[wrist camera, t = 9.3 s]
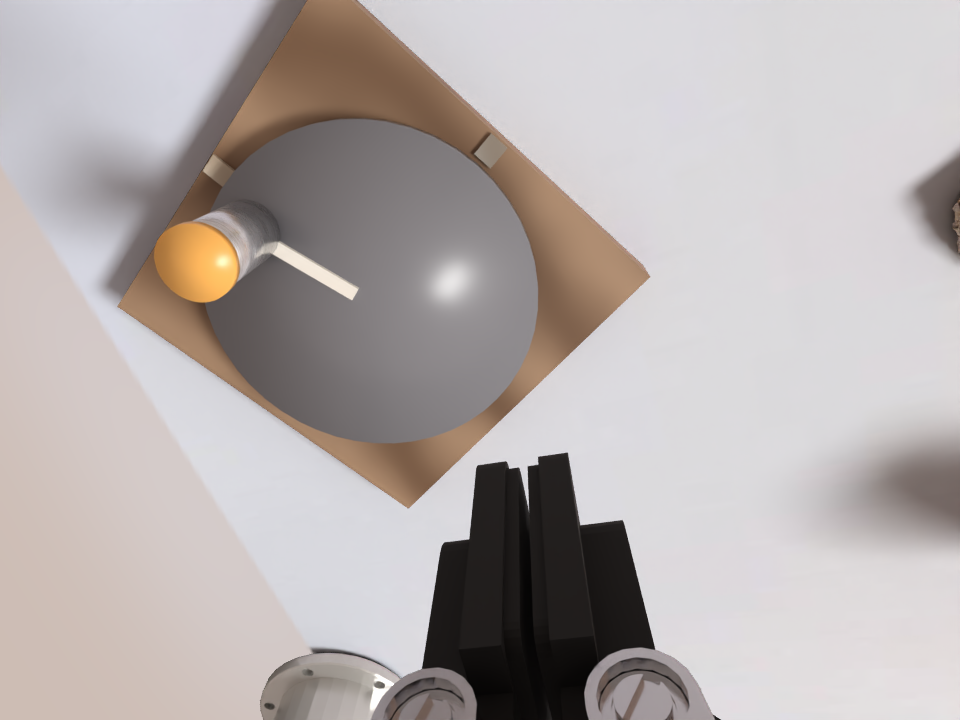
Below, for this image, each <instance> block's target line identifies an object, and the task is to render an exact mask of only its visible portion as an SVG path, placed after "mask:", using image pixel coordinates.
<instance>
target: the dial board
mask: <svg viewBox="0 0 960 720" xmlns="http://www.w3.org/2000/svg"><path fill="white" fill-rule="evenodd" d="M340 118H372V119H381V120H389V121H393V122H397V123H401V124H405V125H409V126H413V127H415V128H418V129H420V130H423V131H425V132H428V133H430V134H433V135H435V136H437V137H439V138H441V139H442V140H444V141H446V142H448V143H449V144H451V145H453V146H455V147H456V148H458V149H459V150H461V151H462V152H463V153H465V154H466V155H467V156H469V157H470V158H471V159H473V160H474V161H475V162H476V163H478V164H479V165H480V166H481V167H482V168H483V169H484V170H485V171H486V172H487V173H488V174H489V175H490V176H491V177H492V178H493V179H494V180H495V182H496V183H497V184H498V186H499V187H500V188H501V189H502V191H503V192H504V193H505V195H506V196H507V197H508V198H509V200H510V202H511V204H512V205H513V207H514V209H515V210H516V212H517V214H518V215H519V217H520V219H521V221H522V224H523V226H524V229H525V231H526V233H527V236H528V238H529V241H530V245H531V248H532V252H533V256H534V260H535V266H536V274H537V282H538V312H537V319H536V325H535V331H534V334H533V338H532V341H531V344H530V348H529V351H528V353H527V355H526V357H525V359H524V361H523V364H522V366H521V368H520V369H519V371H518V373H517V374H516V376H515V377H514V379H513V380H512V382H511V383H510V385H509V386H508V387H507V388H506V389H505V391H504V392H503V393H502V394H501V395H500V396H499V398H498V399H497V400H495V401H494V402H493V403H492V404H491V405H490V406H489V407H488V408H486V409H485V410H484V411H483V412H482V413H480V414H479V415H477V416H476V417H474V418H473V419H471V420H470V421H468V422H467V423H465V424H463V425H461V426H459V427H457V428H455V429H453V430H451V431H448V432H445V433H442V434H440V435H437V436H434V437H430V438H426V439H422V440H417V441H412V442H403V443H369V442H360V441H353V440H349V439H345V438H340V437H336V436H333V435H330V434H327V433H324V432H321V431H319V430H316V429H314V428H312V427H310V426H307V425H305V424H303V423H301V422H299V421H297V420H295V419H294V418H292V417H290V416H289V415H287V414H286V413H284V412H282V411H281V410H279V409H278V408H277V407H275V406H274V405H273V404H271V403H270V402H269V401H267V400H266V399H265V398H264V397H263V396H262V395H261V394H259V393H258V392H257V391H256V390H255V389H254V388H253V387H252V386H251V385H250V384H249V383H248V382H247V381H246V379H245V378H244V377H243V376H242V375H241V374H240V372H239V371H238V370H237V369H236V368H235V366H234V365H233V363H232V362H231V360H230V359H229V357H228V356H227V354H226V353H225V351H224V349H223V348H222V346H221V344H220V342H219V340H218V338H217V336H216V334H215V332H214V329H213V327H212V324H211V321H210V319H209V316H208V313H207V310H206V306H205V302H194V301H190V300H187V299H185V298H183V297H181V296H179V295H177V294H176V293H174V292H173V291H172V290H171V289H170V288H169V287H168V286H167V285H166V284H165V283H164V282H163V280H162V279H161V277H160V275H159V273H158V271H157V269H156V265H155V261H154V250H155V247H154V248H153V250H152V252H151V253H150V255H149V257H148V258H147V260H146V261H145V263H144V265H143V266H142V268H141V269H140V271H139V273H138V274H137V276H136V278H135V279H134V281H133V282H132V284H131V286H130V287H129V289H128V290H127V292H126V294H125V295H124V297H123V298H122V300H121V302H120V303H119V305H118V307H119V308H120V309H122V310H123V311H125V312H126V313H128V314H129V315H130V316H132V317H133V318H135V319H136V320H138V321H139V322H141V323H142V324H143V325H145V326H146V327H148V328H149V329H151V330H152V331H153V332H155V333H156V334H158V335H159V336H161V337H162V338H164V339H165V340H166V341H168V342H169V343H171V344H172V345H174V346H175V347H177V348H178V349H179V350H181V351H182V352H184V353H185V354H187V355H188V356H189V357H191V358H192V359H194V360H195V361H197V362H198V363H200V364H201V365H202V366H204V367H205V368H207V369H208V370H210V371H211V372H213V373H214V374H215V375H217V376H218V377H220V378H221V379H223V380H224V381H225V382H227V383H228V384H230V385H231V386H233V387H234V388H236V389H237V390H238V391H240V392H241V393H243V394H244V395H246V396H247V397H249V398H250V399H251V400H253V401H254V402H256V403H257V404H259V405H260V406H261V407H263V408H264V409H266V410H267V411H269V412H270V413H272V414H273V415H274V416H276V417H277V418H279V419H280V420H282V421H283V422H284V423H286V424H287V425H289V426H290V427H292V428H293V429H295V430H296V431H297V432H299V433H300V434H302V435H303V436H305V437H306V438H308V439H309V440H310V441H312V442H313V443H315V444H316V445H318V446H319V447H320V448H322V449H323V450H325V451H326V452H328V453H329V454H331V455H332V456H333V457H335V458H336V459H338V460H339V461H341V462H342V463H344V464H345V465H346V466H348V467H349V468H351V469H352V470H354V471H355V472H356V473H358V474H359V475H361V476H362V477H364V478H365V479H367V480H368V481H369V482H371V483H372V484H374V485H375V486H377V487H378V488H380V489H381V490H382V491H384V492H385V493H387V494H388V495H390V496H391V497H392V498H394V499H395V500H397V501H398V502H400V503H401V504H403V505H404V506H405V507H407V508H409V507H411V506H412V505H413V504H414V503H415V502H416V501H417V500H418V499H419V498H420V497H421V496H422V495H423V494H424V493H425V492H426V491H427V490H428V489H429V488H430V487H431V486H432V485H433V484H435V483H436V482H437V481H438V480H439V479H440V478H441V477H442V476H443V475H444V474H445V473H446V472H447V471H448V470H449V469H450V468H451V467H452V466H453V465H454V464H455V463H456V462H457V461H459V460H460V459H461V458H462V457H463V456H464V455H465V454H466V453H467V452H468V451H469V450H470V449H471V448H472V447H473V446H474V445H475V444H476V443H477V442H478V441H479V440H480V439H482V438H483V437H484V436H485V435H486V434H487V433H488V432H489V431H490V430H491V429H492V428H493V427H494V426H495V425H496V424H497V423H498V422H499V421H500V420H501V419H502V418H503V417H504V416H506V415H507V414H508V413H509V412H510V411H511V410H512V409H513V408H514V407H515V406H516V405H517V404H518V403H519V402H520V401H521V400H522V399H523V398H524V397H525V396H526V395H527V394H528V393H530V392H531V391H532V390H533V389H534V388H535V387H536V386H537V385H538V384H539V383H540V382H541V381H542V380H543V379H544V378H545V377H546V376H547V375H548V374H549V373H550V372H551V371H552V370H554V369H555V368H556V367H557V366H558V365H559V364H560V363H561V362H562V361H563V360H564V359H565V358H566V357H567V356H568V355H569V354H570V353H571V352H572V351H573V350H574V349H575V348H576V347H578V346H579V345H580V344H581V343H582V342H583V341H584V340H585V339H586V338H587V337H588V336H589V335H590V334H591V333H592V332H593V331H594V330H595V329H596V328H597V327H598V326H599V325H600V324H602V323H603V322H604V321H605V320H606V319H607V318H608V317H609V316H610V315H611V314H612V313H613V312H614V311H615V310H616V309H617V308H618V307H619V306H620V305H621V304H622V303H623V302H625V301H626V300H627V299H628V298H629V297H630V296H631V295H632V294H633V293H634V292H635V291H636V290H637V289H638V288H639V287H640V286H641V285H642V284H643V283H644V282H645V281H646V280H647V279H649V278H650V276H649V274H648V272H647V271H646V269H645V268H644V266H643V265H642V264H641V263H640V262H639V261H638V260H637V259H636V258H635V257H633V256H632V255H631V254H630V253H629V252H628V251H627V250H626V249H625V248H624V247H623V246H622V245H621V244H619V243H618V242H617V241H616V240H615V239H614V238H613V237H612V236H611V235H610V234H609V233H608V232H606V231H605V230H604V229H603V228H602V227H601V226H600V225H599V224H598V223H597V222H596V221H595V220H594V219H592V218H591V217H590V216H589V215H588V214H587V213H586V212H585V211H584V210H583V209H582V208H581V207H580V206H578V205H577V204H576V203H575V202H574V201H573V200H572V199H571V198H570V197H569V196H568V195H567V194H566V193H564V192H563V191H562V190H561V189H560V188H559V187H558V186H557V185H556V184H555V183H554V182H553V181H551V180H550V179H549V178H548V177H547V176H546V175H545V174H544V173H543V172H542V171H541V170H540V169H539V168H537V167H536V166H535V165H534V164H533V163H532V162H531V161H530V160H529V159H528V158H527V157H526V156H525V155H523V154H522V153H521V152H520V151H519V150H518V149H517V148H516V147H515V146H514V145H513V144H512V143H510V142H509V141H508V140H507V139H506V138H505V137H504V136H503V135H502V134H501V133H500V132H499V131H498V130H496V129H495V128H494V127H493V126H492V125H491V124H490V123H489V122H488V121H487V120H486V119H485V118H484V117H482V116H481V115H480V114H479V113H478V112H477V111H476V110H475V109H474V108H473V107H472V106H471V105H470V104H468V103H467V102H466V101H465V100H464V99H463V98H462V97H461V96H460V95H459V94H458V93H457V92H455V91H454V90H453V89H452V88H451V87H450V86H449V85H448V84H447V83H446V82H445V81H444V80H443V79H441V78H440V77H439V76H438V75H437V74H436V73H435V72H434V71H433V70H432V69H431V68H430V67H429V66H427V65H426V64H425V63H424V62H423V61H422V60H421V59H420V58H419V57H418V56H417V55H416V54H415V53H413V52H412V51H411V50H410V49H409V48H408V47H407V46H406V45H405V44H404V43H403V42H402V41H400V40H399V39H398V38H397V37H396V36H395V35H394V34H393V33H392V32H391V31H390V30H389V29H388V28H386V27H385V26H384V25H383V24H382V23H381V22H380V21H379V20H378V19H377V18H376V17H375V16H374V15H372V14H371V13H370V12H369V11H368V10H367V9H366V8H365V7H364V6H363V5H362V4H361V3H360V2H358V1H357V0H307V2H306V3H305V5H304V7H303V8H302V10H301V11H300V13H299V15H298V16H297V18H296V19H295V21H294V23H293V24H292V26H291V27H290V29H289V31H288V32H287V34H286V36H285V37H284V39H283V40H282V42H281V44H280V45H279V47H278V48H277V50H276V52H275V53H274V55H273V57H272V58H271V60H270V61H269V63H268V65H267V66H266V68H265V69H264V71H263V73H262V74H261V76H260V77H259V79H258V81H257V82H256V84H255V86H254V87H253V89H252V90H251V92H250V94H249V95H248V97H247V98H246V100H245V102H244V103H243V105H242V107H241V108H240V110H239V111H238V113H237V115H236V116H235V118H234V119H233V121H232V123H231V124H230V126H229V127H228V129H227V131H226V132H225V134H224V136H223V137H222V139H221V140H220V142H219V144H218V145H217V147H216V148H215V150H214V152H213V153H212V155H211V157H210V158H209V160H208V161H207V163H206V165H205V166H204V168H203V169H202V171H201V173H200V174H199V176H198V177H197V179H196V181H195V182H194V184H193V186H192V187H191V189H190V190H189V192H188V194H187V195H186V197H185V198H184V200H183V202H182V203H181V205H180V207H179V208H178V210H177V211H176V213H175V215H174V216H173V218H172V219H171V221H170V223H169V224H168V226H167V228H166V229H165V231H166V230H168V229H169V228H171V227H174V226H176V225H178V224H180V223H183V222H189V221H193V220H195V219H197V218H200V217H202V216H204V215H206V214H208V213H210V211H211V208H212V206H213V204H214V202H215V200H216V198H217V196H218V194H219V192H220V190H221V189H222V187H223V186H224V185H225V183H226V182H227V180H228V179H229V178H230V176H231V175H232V174H233V172H234V171H235V170H236V169H237V168H238V167H239V166H240V165H241V164H242V163H243V162H244V161H245V160H246V159H247V158H248V157H249V156H250V155H251V154H253V153H254V152H256V151H257V150H258V149H260V148H261V147H262V146H264V145H265V144H266V143H268V142H270V141H272V140H274V139H276V138H278V137H279V136H281V135H283V134H285V133H287V132H289V131H292V130H295V129H298V128H301V127H304V126H307V125H310V124H314V123H318V122H323V121H329V120H335V119H340ZM165 231H164V232H165ZM164 232H163V233H164Z"/></svg>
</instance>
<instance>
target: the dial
mask: <svg viewBox="0 0 960 720" xmlns="http://www.w3.org/2000/svg"><path fill="white" fill-rule="evenodd" d="M154 261H155V265H156V269H157V271H158V273H159V275H160V277H161V279H162V280H163V282H164V283H165V284H166V285H167V286H168V287H169V288H170V289H171V290H172V291H173V292H174V293H176V294H177V295H179V296H181V297H183V298H185V299H187V300H190V301H194V302H205V306H206V310H207V313H208V316H209V319H210V321H211V324H212V327H213V329H214V332H215V334H216V336H217V338H218V340H219V342H220V344H221V346H222V348H223V349H224V351H225V353H226V354H227V356H228V357H229V359H230V360H231V362H232V363H233V365H234V366H235V368H236V369H237V370H238V371H239V372H240V374H241V375H242V376H243V377H244V378H245V379H246V381H247V382H248V383H249V384H250V385H251V386H252V387H253V388H254V389H255V390H256V391H257V392H258V393H259V394H261V395H262V396H263V397H264V398H265V399H266V400H267V401H269V402H270V403H271V404H273V405H274V406H275V407H277V408H278V409H279V410H281V411H282V412H284V413H286V414H287V415H289V416H290V417H292V418H294V419H295V420H297V421H299V422H301V423H303V424H305V425H307V426H310V427H312V428H314V429H316V430H319V431H321V432H324V433H327V434H330V435H333V436H336V437H340V438H345V439H349V440H353V441H360V442H369V443H403V442H412V441H417V440H422V439H426V438H430V437H434V436H437V435H440V434H442V433H445V432H448V431H451V430H453V429H455V428H457V427H459V426H461V425H463V424H465V423H467V422H468V421H470V420H471V419H473V418H474V417H476V416H477V415H479V414H480V413H482V412H483V411H484V410H485V409H486V408H488V407H489V406H490V405H491V404H492V403H493V402H494V401H495V400H497V399H498V398H499V396H500V395H501V394H502V393H503V392H504V391H505V389H506V388H507V387H508V386H509V385H510V383H511V382H512V380H513V379H514V377H515V376H516V374H517V373H518V371H519V369H520V368H521V366H522V364H523V361H524V359H525V357H526V355H527V353H528V351H529V348H530V344H531V341H532V338H533V334H534V331H535V325H536V319H537V312H538V282H537V274H536V266H535V260H534V256H533V252H532V248H531V245H530V241H529V238H528V236H527V233H526V231H525V229H524V226H523V224H522V221H521V219H520V217H519V215H518V214H517V212H516V210H515V209H514V207H513V205H512V204H511V202H510V200H509V198H508V197H507V196H506V195H505V193H504V192H503V191H502V189H501V188H500V187H499V186H498V184H497V183H496V182H495V180H494V179H493V178H492V177H491V176H490V175H489V174H488V173H487V172H486V171H485V170H484V169H483V168H482V167H481V166H480V165H479V164H478V163H476V162H475V161H474V160H473V159H471V158H470V157H469V156H467V155H466V154H465V153H463V152H462V151H461V150H459V149H458V148H456V147H455V146H453V145H451V144H449V143H448V142H446V141H444V140H442V139H441V138H439V137H437V136H435V135H433V134H430V133H428V132H425V131H423V130H420V129H418V128H415V127H413V126H409V125H405V124H401V123H397V122H393V121H389V120H381V119H372V118H340V119H335V120H329V121H323V122H318V123H314V124H310V125H307V126H304V127H301V128H298V129H295V130H292V131H289V132H287V133H285V134H283V135H281V136H279V137H278V138H276V139H274V140H272V141H270V142H268V143H266V144H265V145H264V146H262V147H261V148H260V149H258V150H257V151H256V152H254V153H253V154H251V155H250V156H249V157H248V158H247V159H246V160H245V161H244V162H243V163H242V164H241V165H240V166H239V167H238V168H237V169H236V170H235V171H234V172H233V174H232V175H231V176H230V178H229V179H228V180H227V182H226V183H225V185H224V186H223V187H222V189H221V190H220V192H219V194H218V196H217V198H216V200H215V202H214V204H213V206H212V208H211V211H210V213H208V214H206V215H204V216H202V217H200V218H197V219H195V220H193V221H189V222H183V223H180V224H178V225H176V226H174V227H171V228H169V229H168V230H166V231H165V232H164V233H163V234H162V235H161V236H160V237H159V239H158V240H157V243H156V245H155V250H154Z"/></svg>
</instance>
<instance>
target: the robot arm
mask: <svg viewBox="0 0 960 720" xmlns="http://www.w3.org/2000/svg"><path fill="white" fill-rule="evenodd" d="M538 464H539V465H534V466H528V489H529V510H528V505H527V501H526V496H525V491H524V486H523V482H522V477H521V472H520V469H519V468H513V469H509V467H508V464H507V462H506V461H505V462H498V463H491V464H484V465H478V466H477V468H476V477H475V488H474V498H473V508H472V518H471V528H470V539H469V540H461V541H453V542H445V543H444V544H443V545H442V548H441V552H440V558H439V564H438V571H437V577H436V583H435V590H434V596H433V602H432V609H431V615H430V622H429V628H428V634H427V641H426V647H425V654H424V660H423V666H422V669H421V670H418V671H416V672H413V673H411V674H408V675H406V676H405V677H403V678H402V679H400V678H399V677H398V676H397V675H396V674H394V673H393V672H391V671H390V670H388V669H386V668H385V667H383V666H381V665H379V664H377V663H375V662H372V661H370V660H367V659H364V658H360V657H357V656H352V655H347V654H341V653H318V654H310V655H306V656H302V657H298V658H295V659H293V660H291V661H288V662H286V663H284V664H283V665H282V666H280V667H279V668H278V669H276V670H275V671H274V673H273V674H272V675H271V676H270V677H269V679H268V681H267V684H266V686H265V688H264V690H263V693H262V697H261V700H260V705H261V706H260V707H261V713H262V716H263V720H720V719H719V718H717V717H716V716H714V715H713V714H712V712H711V710H710V708H709V706H708V704H707V702H706V700H705V698H704V696H703V694H702V692H701V689H700V687H699V685H698V683H697V682H696V680H695V679H694V677H693V676H692V675H691V673H690V672H689V670H688V669H687V668H686V667H685V666H683V665H682V664H681V663H680V662H679V661H677V660H676V659H675V658H673V657H671V656H669V655H667V654H665V653H662V652H660V651H658V650H655V646H654V642H653V638H652V634H651V630H650V626H649V622H648V618H647V614H646V610H645V606H644V602H643V598H642V594H641V590H640V586H639V582H638V578H637V574H636V570H635V566H634V562H633V558H632V554H631V550H630V546H629V542H628V537H627V533H626V529H625V526H624V522H623V520H621V521H613V522H605V523H597V524H589V525H581V526H580V522H579V516H578V510H577V504H576V498H575V492H574V487H573V481H572V475H571V469H570V463H569V457H568V453H562V454H555V455H548V456H541V457H538Z"/></svg>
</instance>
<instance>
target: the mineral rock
mask: <svg viewBox="0 0 960 720" xmlns="http://www.w3.org/2000/svg"><path fill="white" fill-rule="evenodd" d="M952 209H953V210H954V211H955V222H954V223H953V226H952V229H953V230H955V231H956V233H957V235H958V240H957V246H958V252H959V253H960V198H959V200H958V202H957V203H956V204H955V205H954V206H953V208H952Z"/></svg>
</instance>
